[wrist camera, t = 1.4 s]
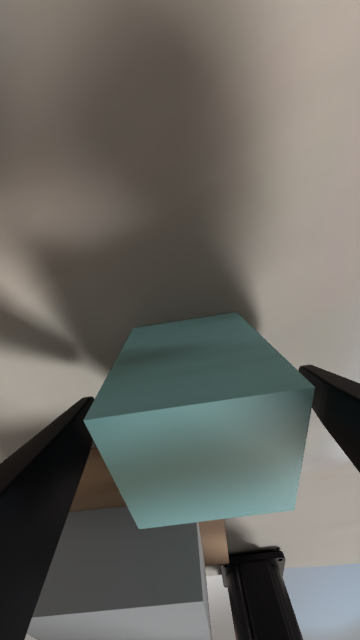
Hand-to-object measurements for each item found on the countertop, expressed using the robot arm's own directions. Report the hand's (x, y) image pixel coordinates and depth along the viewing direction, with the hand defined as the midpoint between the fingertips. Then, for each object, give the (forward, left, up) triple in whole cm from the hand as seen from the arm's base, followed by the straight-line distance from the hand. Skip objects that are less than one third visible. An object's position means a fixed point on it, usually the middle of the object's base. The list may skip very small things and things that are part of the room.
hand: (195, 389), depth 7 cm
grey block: (-11, +5, +1) cm, 12 cm away
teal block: (0, 0, -2) cm, 2 cm away
